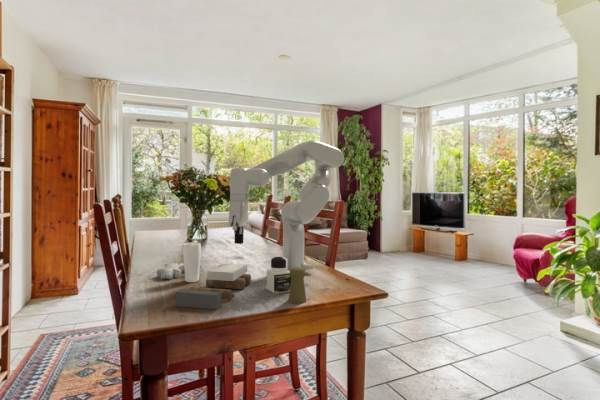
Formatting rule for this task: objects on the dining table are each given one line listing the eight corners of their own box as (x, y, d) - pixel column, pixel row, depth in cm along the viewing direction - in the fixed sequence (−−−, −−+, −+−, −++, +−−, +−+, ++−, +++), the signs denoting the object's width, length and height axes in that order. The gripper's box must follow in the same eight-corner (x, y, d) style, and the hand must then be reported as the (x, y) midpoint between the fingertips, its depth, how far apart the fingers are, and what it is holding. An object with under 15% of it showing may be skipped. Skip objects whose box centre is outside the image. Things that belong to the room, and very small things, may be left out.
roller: (232, 297, 117) (231, 287, 116) (228, 303, 113) (227, 293, 112) (194, 294, 120) (193, 284, 119) (189, 299, 116) (188, 290, 115)
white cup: (195, 283, 133) (195, 245, 133) (179, 282, 135) (179, 244, 134) (204, 279, 140) (204, 242, 140) (188, 278, 141) (188, 241, 141)
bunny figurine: (153, 271, 137) (164, 259, 152) (153, 283, 138) (164, 270, 153) (177, 270, 138) (186, 258, 153) (177, 283, 139) (186, 269, 154)
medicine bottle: (274, 294, 121) (274, 260, 121) (266, 288, 128) (266, 256, 127) (292, 291, 124) (292, 258, 124) (283, 286, 131) (284, 255, 130)
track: (251, 283, 135) (251, 273, 134) (226, 302, 112) (226, 290, 112) (217, 281, 137) (217, 271, 137) (187, 299, 115) (187, 287, 115)
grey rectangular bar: (221, 306, 108) (221, 292, 108) (217, 309, 105) (217, 295, 105) (181, 303, 111) (181, 289, 111) (175, 306, 108) (175, 291, 108)
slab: (247, 271, 136) (247, 264, 136) (233, 281, 122) (233, 272, 122) (223, 270, 138) (223, 263, 138) (207, 279, 124) (207, 271, 124)
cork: (287, 297, 117) (288, 265, 117) (305, 297, 118) (305, 265, 117) (288, 303, 111) (289, 270, 111) (307, 303, 112) (307, 269, 111)
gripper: (237, 198, 148) (237, 240, 149) (223, 198, 134) (222, 245, 134) (254, 198, 147) (253, 241, 147) (241, 199, 132) (240, 246, 133)
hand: (238, 243), depth 141 cm, fingers closed
